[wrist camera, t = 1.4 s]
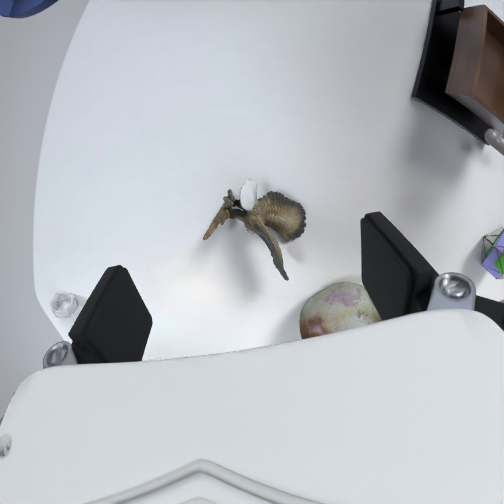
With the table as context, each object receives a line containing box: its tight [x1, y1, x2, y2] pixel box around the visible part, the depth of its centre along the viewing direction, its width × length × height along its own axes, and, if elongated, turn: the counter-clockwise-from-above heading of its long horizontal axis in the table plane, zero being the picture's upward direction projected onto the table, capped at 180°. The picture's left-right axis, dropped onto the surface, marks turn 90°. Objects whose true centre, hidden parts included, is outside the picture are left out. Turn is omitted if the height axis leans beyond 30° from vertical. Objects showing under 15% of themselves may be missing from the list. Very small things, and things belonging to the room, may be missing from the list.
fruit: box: [300, 282, 382, 339], centre depth 31 cm, size 10×9×12 cm
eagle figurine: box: [203, 179, 306, 280], centre depth 27 cm, size 8×7×9 cm
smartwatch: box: [50, 293, 77, 318], centre depth 33 cm, size 4×2×4 cm, turn 83°
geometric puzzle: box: [481, 229, 504, 279], centre depth 30 cm, size 7×7×8 cm
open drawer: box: [445, 5, 504, 156], centre depth 16 cm, size 14×10×6 cm
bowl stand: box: [412, 0, 494, 145], centre depth 19 cm, size 14×13×5 cm
